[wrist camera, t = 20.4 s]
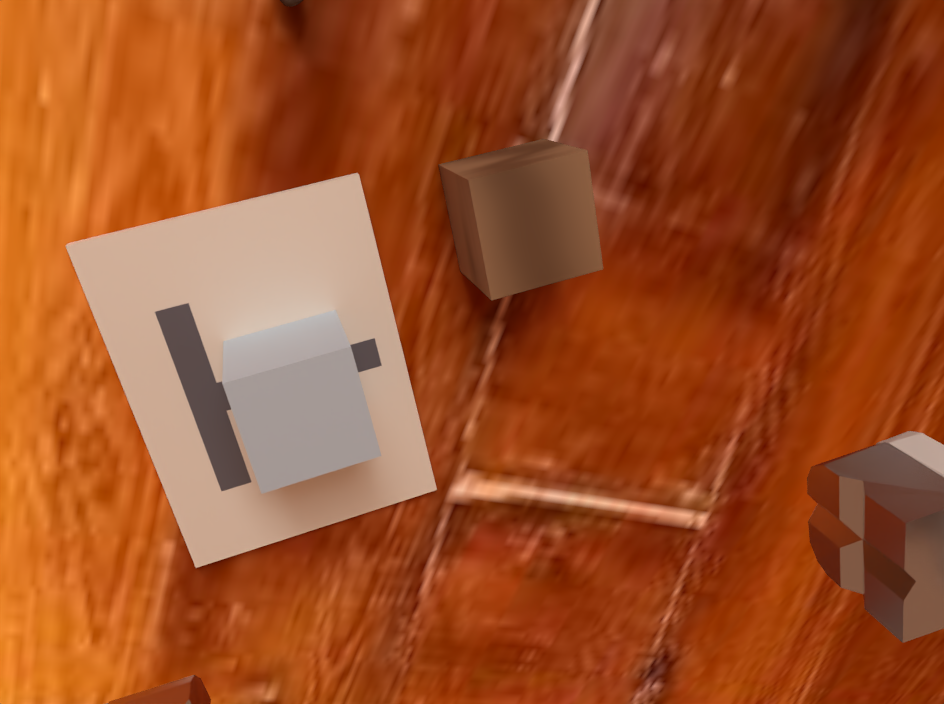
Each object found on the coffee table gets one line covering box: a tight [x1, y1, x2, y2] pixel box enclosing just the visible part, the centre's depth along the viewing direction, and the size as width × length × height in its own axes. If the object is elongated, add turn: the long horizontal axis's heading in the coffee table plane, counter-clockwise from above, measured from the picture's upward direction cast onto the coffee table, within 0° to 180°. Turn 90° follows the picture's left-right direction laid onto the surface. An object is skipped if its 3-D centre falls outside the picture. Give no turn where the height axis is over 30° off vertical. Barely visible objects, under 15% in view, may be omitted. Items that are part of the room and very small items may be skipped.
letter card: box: [66, 173, 437, 568], centre depth 36 cm, size 12×16×1 cm
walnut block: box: [439, 139, 603, 301], centre depth 35 cm, size 5×5×5 cm
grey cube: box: [222, 310, 381, 494], centre depth 34 cm, size 5×5×5 cm
